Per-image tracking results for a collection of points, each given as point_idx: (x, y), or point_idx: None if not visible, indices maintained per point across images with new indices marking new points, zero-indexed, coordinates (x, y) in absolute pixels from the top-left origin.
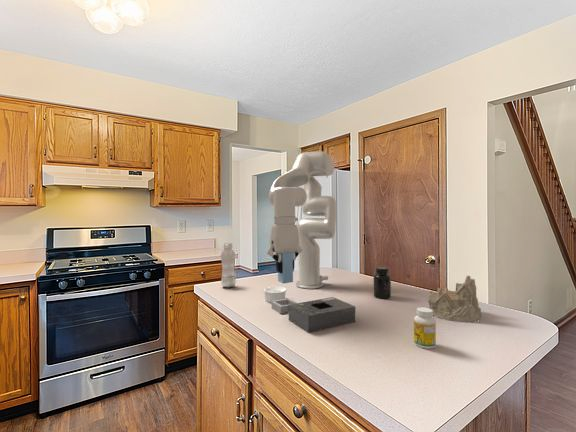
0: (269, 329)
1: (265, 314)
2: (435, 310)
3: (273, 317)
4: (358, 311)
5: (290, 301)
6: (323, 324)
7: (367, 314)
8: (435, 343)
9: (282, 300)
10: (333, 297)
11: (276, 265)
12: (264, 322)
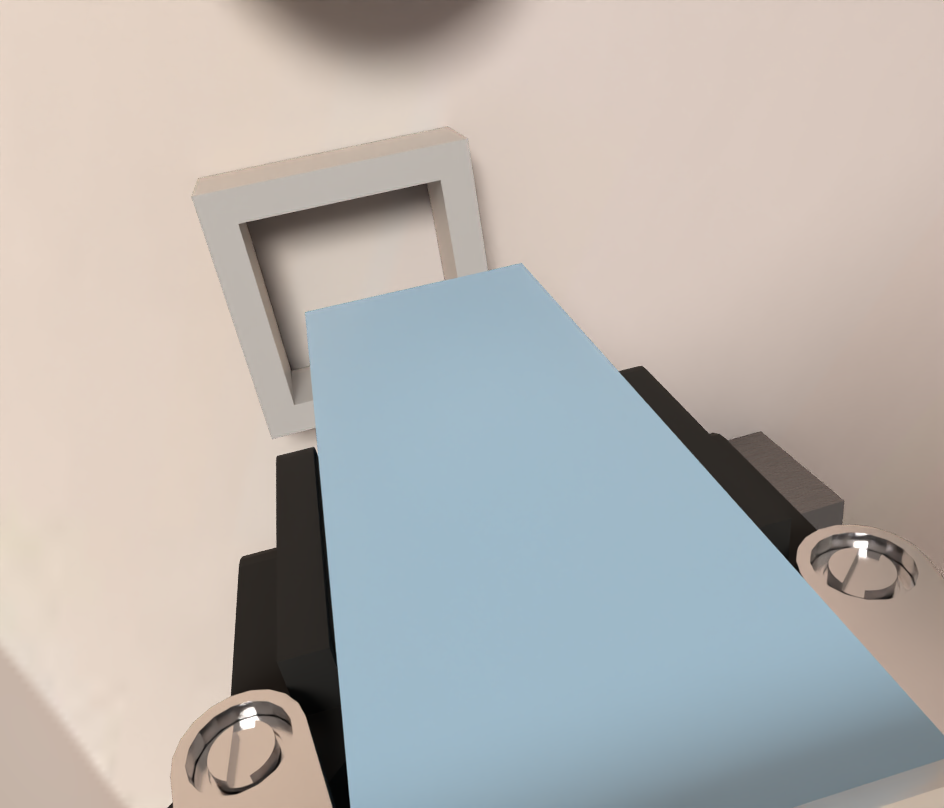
0: (102, 707)
1: (93, 380)
2: None
3: (175, 478)
4: (917, 478)
5: (452, 249)
6: None
7: (918, 543)
8: None
9: (358, 196)
10: (840, 513)
11: (242, 649)
12: (66, 578)
